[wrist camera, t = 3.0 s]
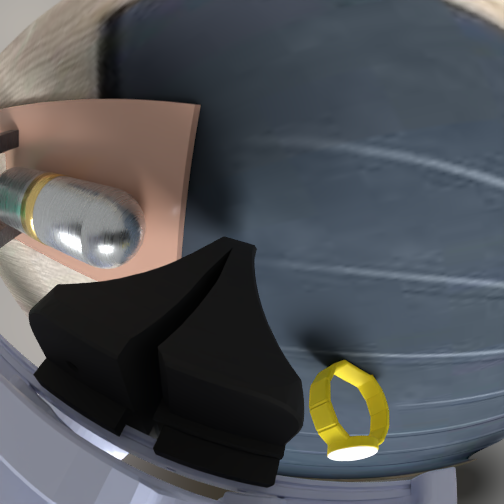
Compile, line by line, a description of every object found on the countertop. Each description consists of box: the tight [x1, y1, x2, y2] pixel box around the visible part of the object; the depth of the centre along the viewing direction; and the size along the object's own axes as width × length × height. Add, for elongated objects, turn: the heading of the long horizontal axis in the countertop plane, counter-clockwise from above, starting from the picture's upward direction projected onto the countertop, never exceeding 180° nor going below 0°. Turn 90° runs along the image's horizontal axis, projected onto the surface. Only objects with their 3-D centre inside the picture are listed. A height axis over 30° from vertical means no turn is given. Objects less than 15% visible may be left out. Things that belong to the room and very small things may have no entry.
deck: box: [0, 99, 201, 282], centre depth 13 cm, size 25×11×1 cm, turn 78°
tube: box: [0, 167, 146, 269], centre depth 11 cm, size 12×4×4 cm, turn 78°
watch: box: [309, 360, 389, 461], centre depth 13 cm, size 6×3×6 cm, turn 56°
